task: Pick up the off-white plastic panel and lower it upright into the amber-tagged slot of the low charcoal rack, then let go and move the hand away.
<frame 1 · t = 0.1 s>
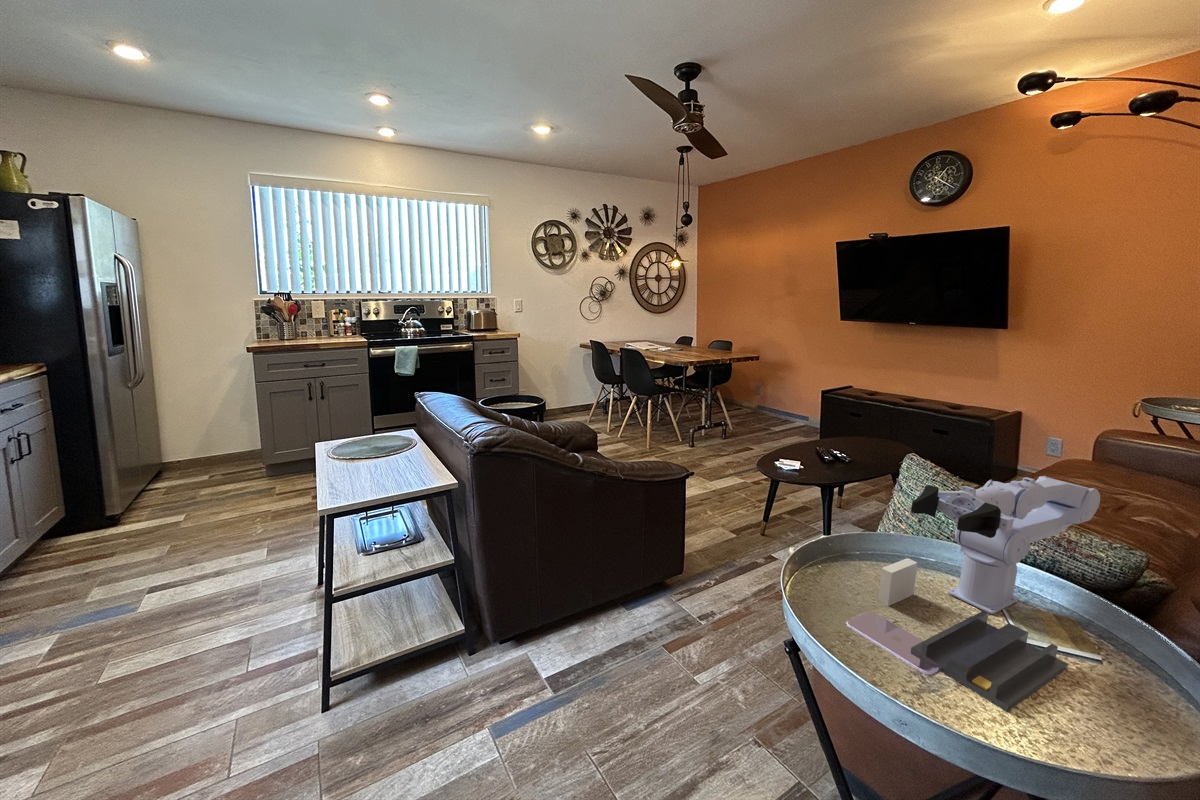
hand: (935, 515, 88), 22 cm above the table, tool horizontal, fingers open, 7 cm apart
charcoal rack: (987, 660, 84), on the table
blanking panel: (895, 597, 101), on the table
mobile phone: (895, 644, 89), on the table
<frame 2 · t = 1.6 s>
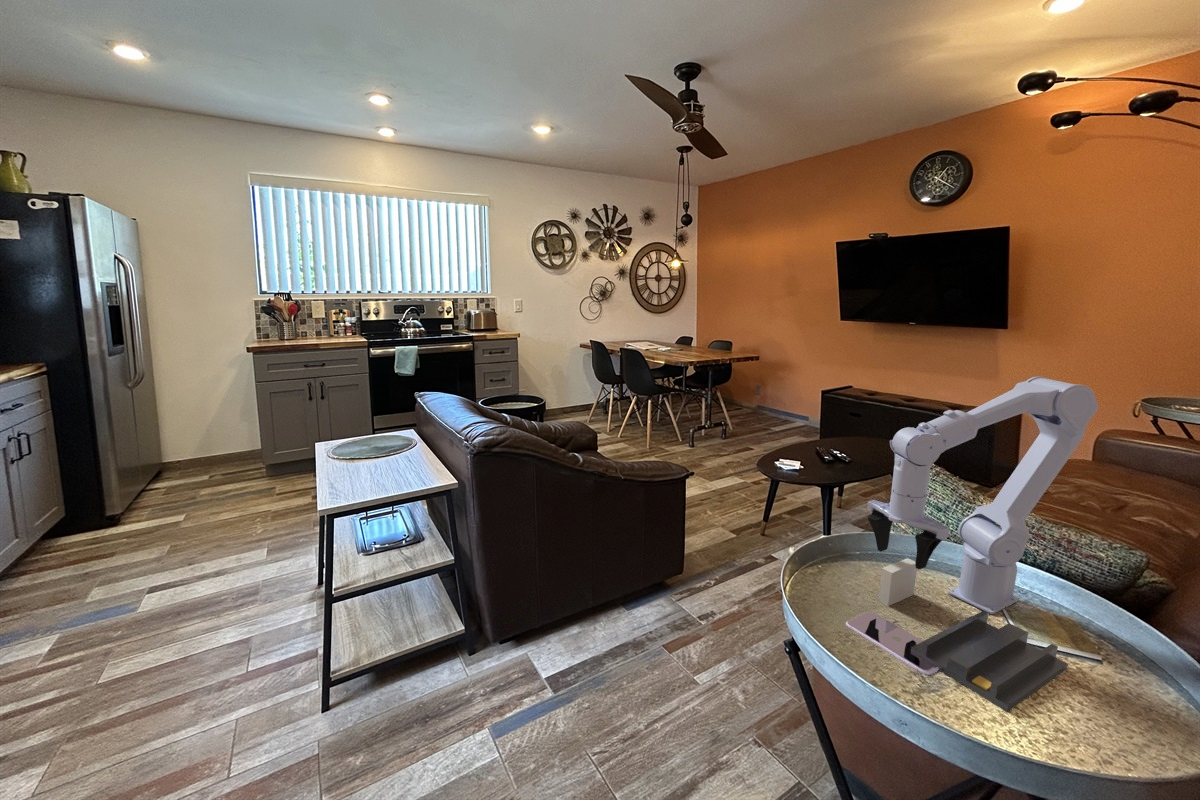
hand: (900, 558, 100), 8 cm above the table, tool pointing down, fingers open, 7 cm apart
nothing on the table moved.
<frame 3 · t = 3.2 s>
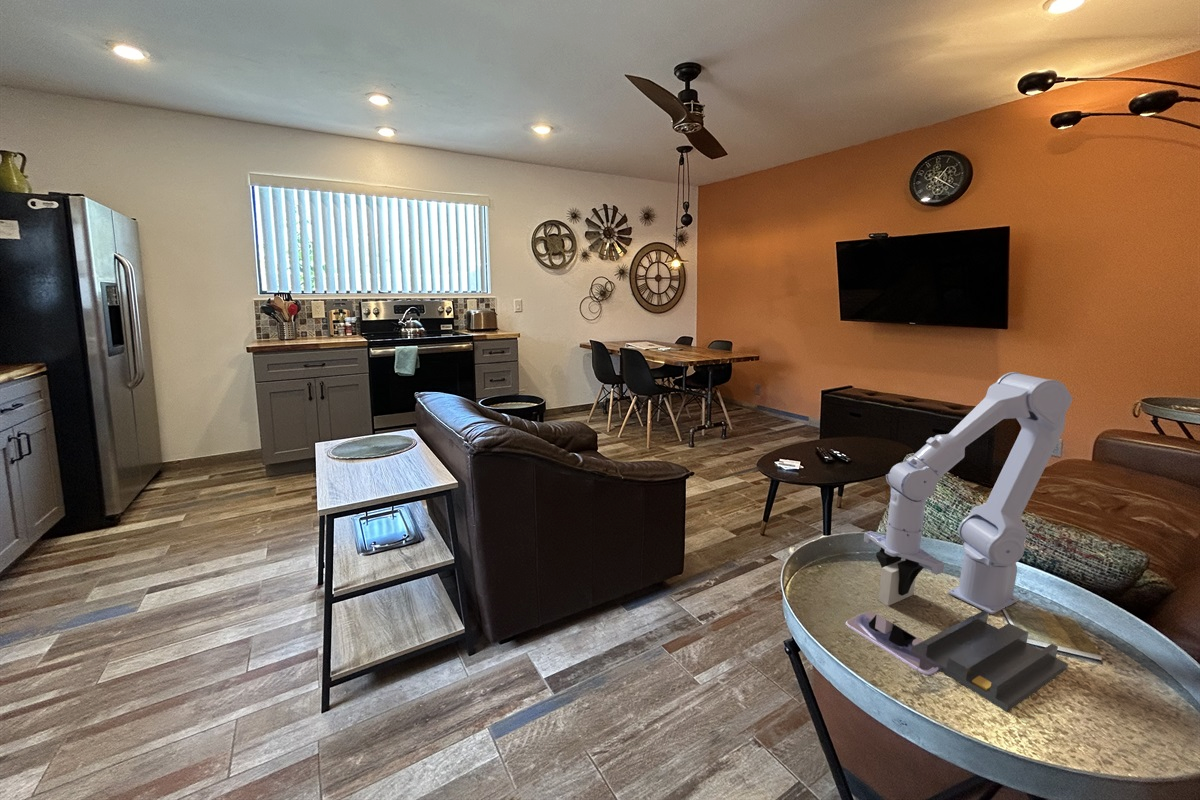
hand: (896, 590, 101), 2 cm above the table, tool pointing down, fingers closed on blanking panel, 2 cm apart
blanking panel: (895, 597, 101), on the table, touching gripper
everything else where it was.
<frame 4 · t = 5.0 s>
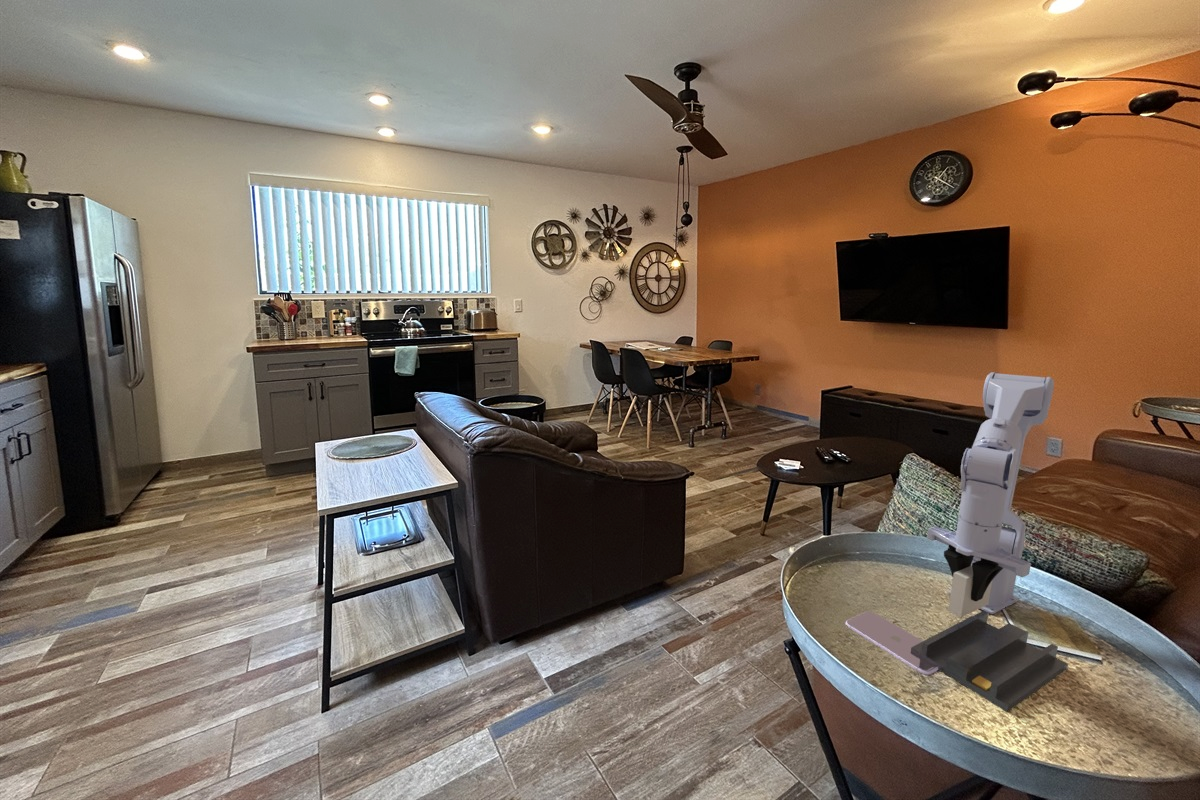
hand: (968, 595, 87), 9 cm above the table, tool pointing down, fingers closed on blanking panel
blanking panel: (968, 607, 88), point 6 cm above the table, touching gripper
everything else where it was.
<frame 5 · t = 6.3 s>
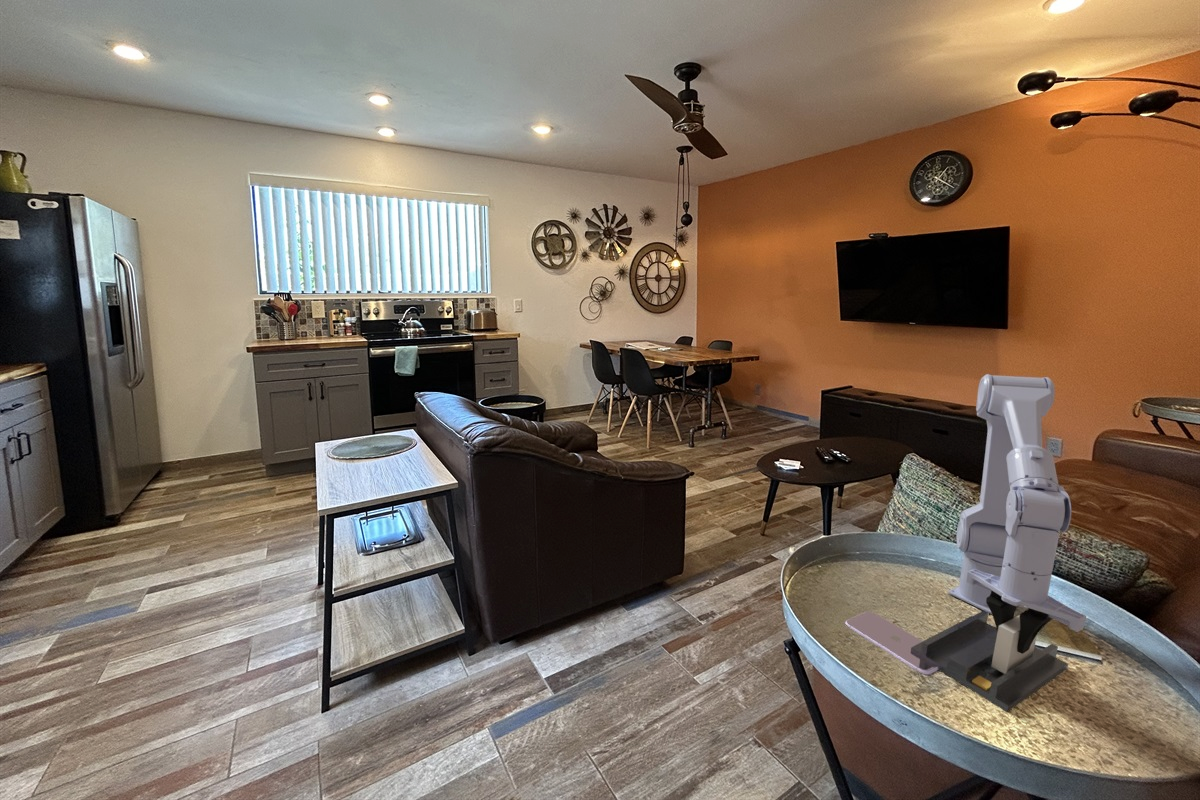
hand: (1013, 645, 80), 5 cm above the table, tool pointing down, fingers closed on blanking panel, 2 cm apart
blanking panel: (1011, 662, 81), point 2 cm above the table, touching gripper
everything else where it was.
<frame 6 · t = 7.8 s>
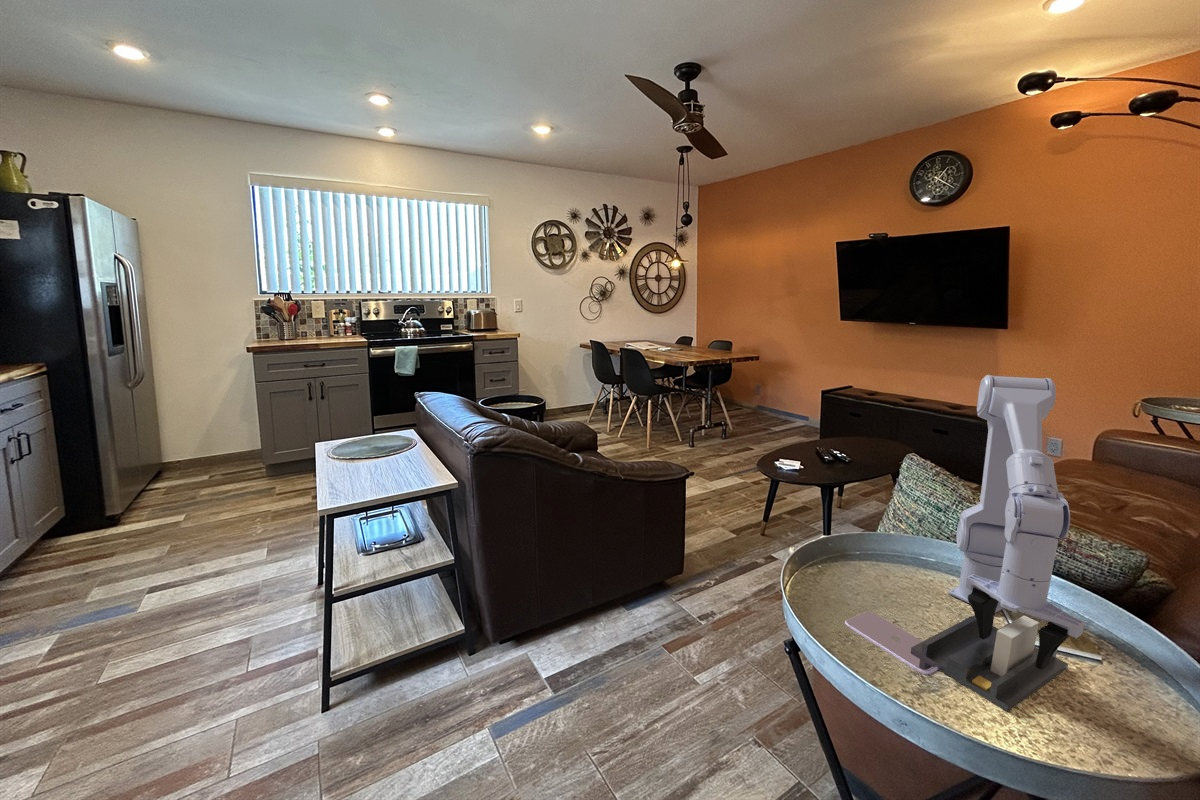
hand: (1011, 650, 81), 4 cm above the table, tool pointing down, fingers open, 7 cm apart
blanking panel: (1011, 665, 81), point 1 cm above the table, touching charcoal rack
everything else where it was.
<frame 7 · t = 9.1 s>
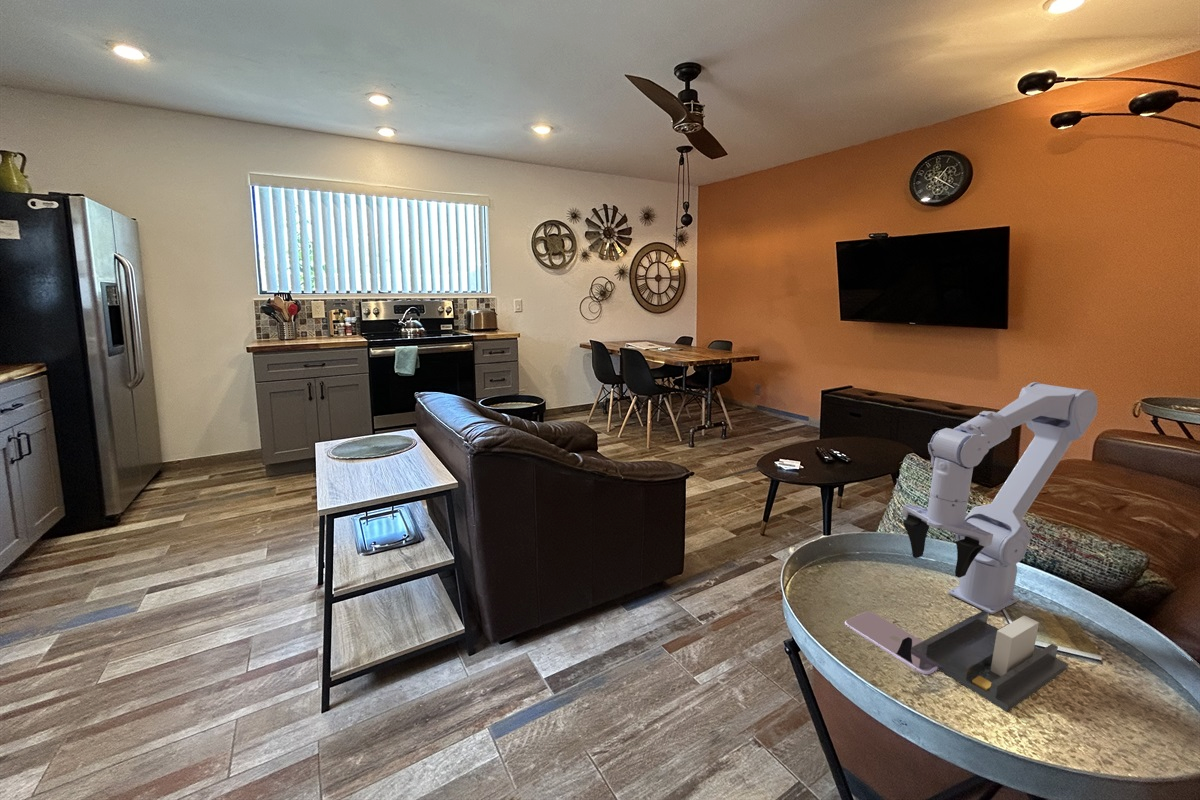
hand: (938, 565, 95), 9 cm above the table, tool pointing down, fingers open, 7 cm apart
nothing on the table moved.
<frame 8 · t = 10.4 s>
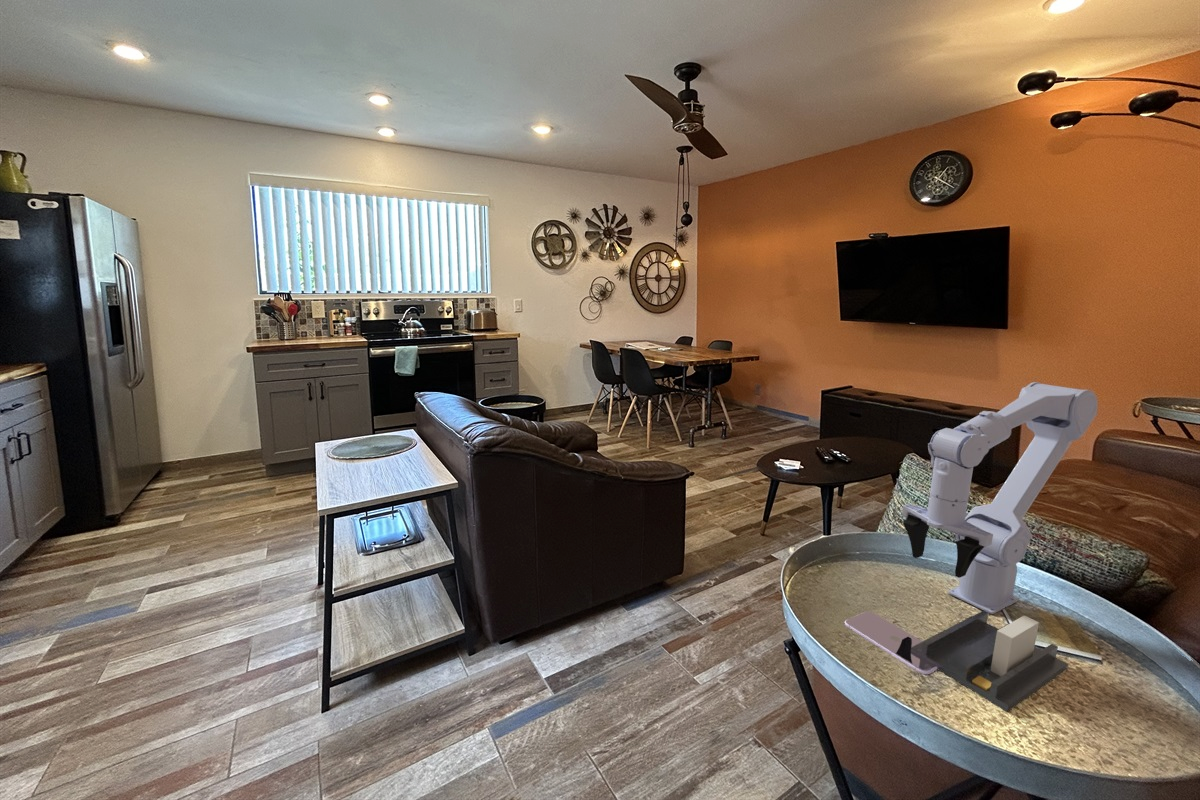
hand: (938, 565, 95), 9 cm above the table, tool pointing down, fingers open, 7 cm apart
nothing on the table moved.
at the end: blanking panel 0.6 cm from the target spot on the charcoal rack, point 1.0 cm above the charcoal rack's base; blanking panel tilted 0°; the gripper is holding nothing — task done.
